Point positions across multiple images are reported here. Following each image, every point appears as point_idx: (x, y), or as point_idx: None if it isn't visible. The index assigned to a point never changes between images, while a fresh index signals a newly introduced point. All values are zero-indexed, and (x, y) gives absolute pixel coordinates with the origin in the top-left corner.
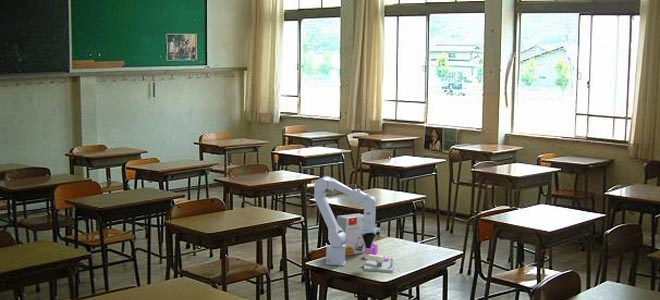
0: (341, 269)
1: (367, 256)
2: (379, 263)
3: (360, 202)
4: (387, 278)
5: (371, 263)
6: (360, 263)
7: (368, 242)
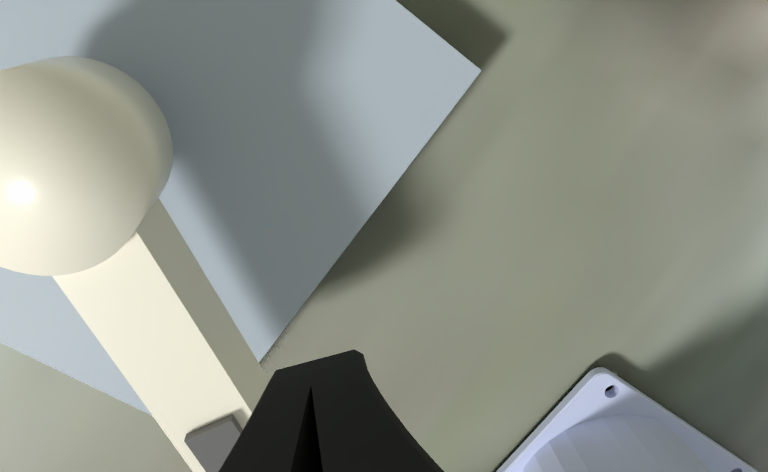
0: (735, 232)
1: (251, 385)
2: None
3: None
4: None
5: None
6: None
7: (440, 469)
